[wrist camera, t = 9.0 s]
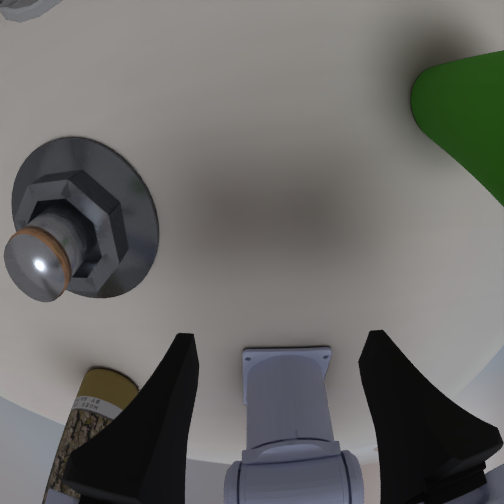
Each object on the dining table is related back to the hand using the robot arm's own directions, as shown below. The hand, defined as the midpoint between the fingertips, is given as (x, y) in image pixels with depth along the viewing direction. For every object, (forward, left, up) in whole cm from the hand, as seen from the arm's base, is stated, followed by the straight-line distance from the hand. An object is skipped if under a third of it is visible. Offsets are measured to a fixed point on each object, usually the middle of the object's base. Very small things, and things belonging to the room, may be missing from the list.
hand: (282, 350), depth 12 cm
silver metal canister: (+1, +14, -9) cm, 17 cm away
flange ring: (+1, +14, -10) cm, 17 cm away
